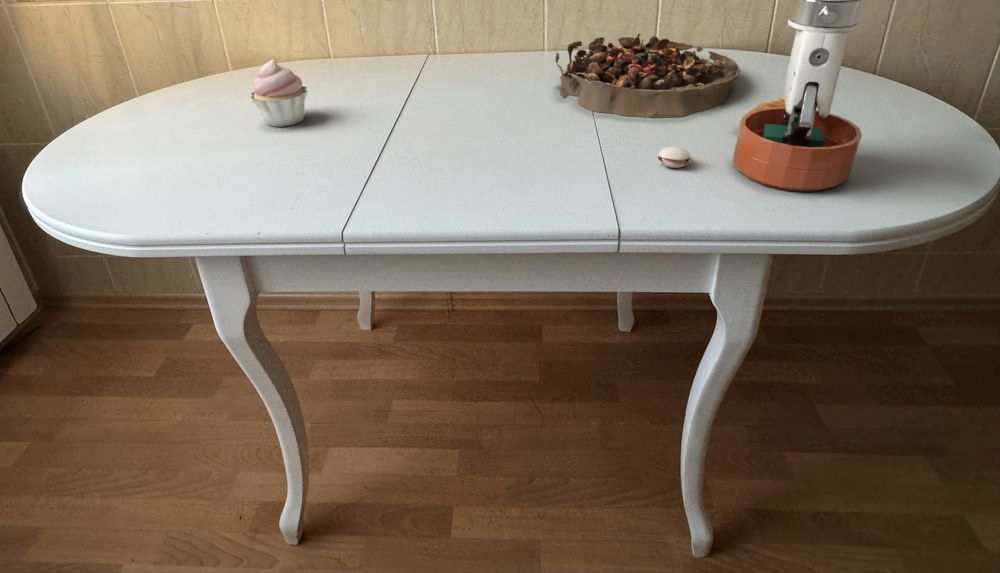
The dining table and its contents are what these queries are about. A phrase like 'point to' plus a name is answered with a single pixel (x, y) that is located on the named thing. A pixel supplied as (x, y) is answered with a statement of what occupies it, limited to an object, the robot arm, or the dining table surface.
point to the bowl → (796, 153)
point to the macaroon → (674, 157)
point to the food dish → (646, 78)
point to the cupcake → (279, 95)
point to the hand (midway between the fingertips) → (788, 156)
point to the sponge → (778, 131)
